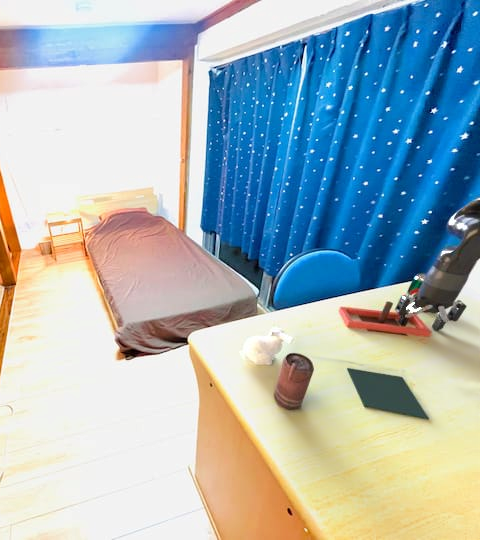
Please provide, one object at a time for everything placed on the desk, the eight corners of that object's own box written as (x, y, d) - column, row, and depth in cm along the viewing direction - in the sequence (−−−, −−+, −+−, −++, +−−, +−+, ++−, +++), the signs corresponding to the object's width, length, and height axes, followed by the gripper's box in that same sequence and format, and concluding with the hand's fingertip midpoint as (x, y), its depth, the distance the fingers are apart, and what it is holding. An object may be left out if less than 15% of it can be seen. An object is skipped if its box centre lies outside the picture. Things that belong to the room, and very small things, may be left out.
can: (269, 402, 70) (279, 363, 64) (278, 386, 74) (289, 347, 67) (295, 417, 66) (310, 377, 60) (304, 399, 70) (318, 360, 63)
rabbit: (271, 345, 87) (279, 315, 81) (291, 369, 78) (300, 337, 73) (234, 351, 86) (239, 321, 80) (249, 375, 78) (256, 343, 72)
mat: (401, 377, 73) (402, 376, 73) (428, 419, 63) (429, 418, 63) (346, 368, 77) (347, 367, 77) (364, 406, 67) (364, 405, 67)
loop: (338, 311, 96) (340, 306, 95) (413, 319, 90) (416, 314, 89) (346, 326, 89) (348, 321, 88) (429, 336, 83) (432, 331, 82)
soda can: (425, 310, 94) (441, 280, 89) (407, 310, 95) (423, 280, 90) (413, 302, 99) (428, 272, 93) (397, 301, 100) (411, 272, 94)
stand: (390, 318, 93) (402, 295, 88) (406, 338, 84) (419, 315, 80) (354, 314, 96) (363, 292, 91) (366, 333, 88) (376, 310, 83)
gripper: (467, 278, 79) (440, 322, 87) (404, 273, 84) (383, 316, 92) (487, 292, 73) (456, 339, 81) (418, 286, 78) (394, 331, 86)
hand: (418, 327), depth 86 cm, fingers open, 7 cm apart
